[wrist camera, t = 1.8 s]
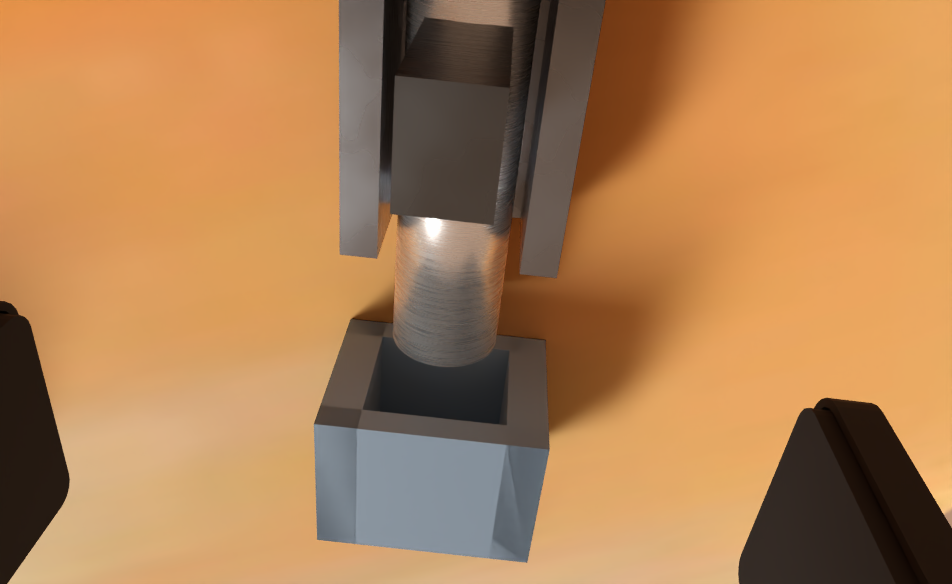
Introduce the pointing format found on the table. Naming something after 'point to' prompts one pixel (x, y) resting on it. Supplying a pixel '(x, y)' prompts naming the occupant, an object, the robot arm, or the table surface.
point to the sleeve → (544, 137)
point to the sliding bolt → (457, 171)
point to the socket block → (432, 448)
